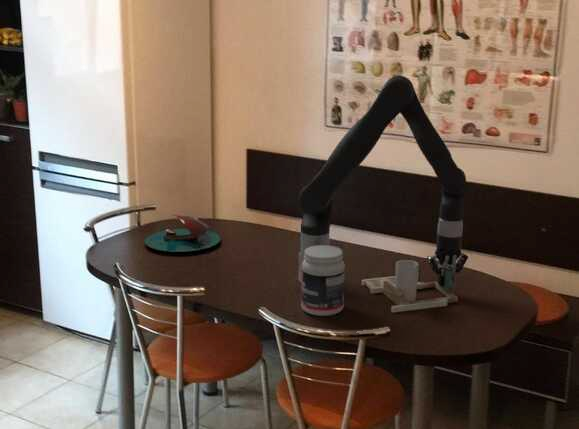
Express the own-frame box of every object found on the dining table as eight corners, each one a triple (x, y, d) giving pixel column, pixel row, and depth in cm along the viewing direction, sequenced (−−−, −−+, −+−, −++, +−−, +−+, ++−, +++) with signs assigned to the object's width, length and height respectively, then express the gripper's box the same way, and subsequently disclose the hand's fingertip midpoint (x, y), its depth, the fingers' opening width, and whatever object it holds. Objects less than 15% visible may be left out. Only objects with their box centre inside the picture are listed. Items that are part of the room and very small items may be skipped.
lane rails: (392, 312, 239) (392, 307, 238) (361, 284, 261) (362, 279, 260) (447, 305, 244) (447, 300, 243) (412, 278, 266) (412, 274, 265)
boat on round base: (216, 256, 287) (215, 226, 284) (138, 255, 287) (136, 225, 284) (223, 232, 314) (223, 205, 311) (152, 232, 314) (150, 204, 311)
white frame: (400, 308, 241) (401, 282, 238) (381, 291, 254) (382, 266, 251) (458, 301, 246) (460, 275, 244) (437, 285, 259) (438, 260, 257)
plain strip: (371, 290, 254) (372, 275, 253) (365, 284, 259) (365, 269, 258) (420, 285, 259) (421, 269, 258) (413, 279, 264) (413, 264, 263)
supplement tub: (292, 307, 242) (292, 249, 237) (325, 297, 250) (326, 241, 244) (319, 321, 232) (320, 261, 227) (353, 310, 240) (354, 252, 235)
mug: (408, 306, 243) (410, 269, 240) (389, 300, 247) (391, 263, 244) (426, 297, 250) (428, 260, 247) (408, 291, 255) (409, 255, 251)
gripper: (435, 237, 241) (430, 291, 246) (476, 234, 245) (471, 287, 250) (423, 230, 248) (419, 283, 253) (463, 227, 252) (459, 279, 257)
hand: (445, 285), depth 252 cm, fingers closed on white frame, 2 cm apart
